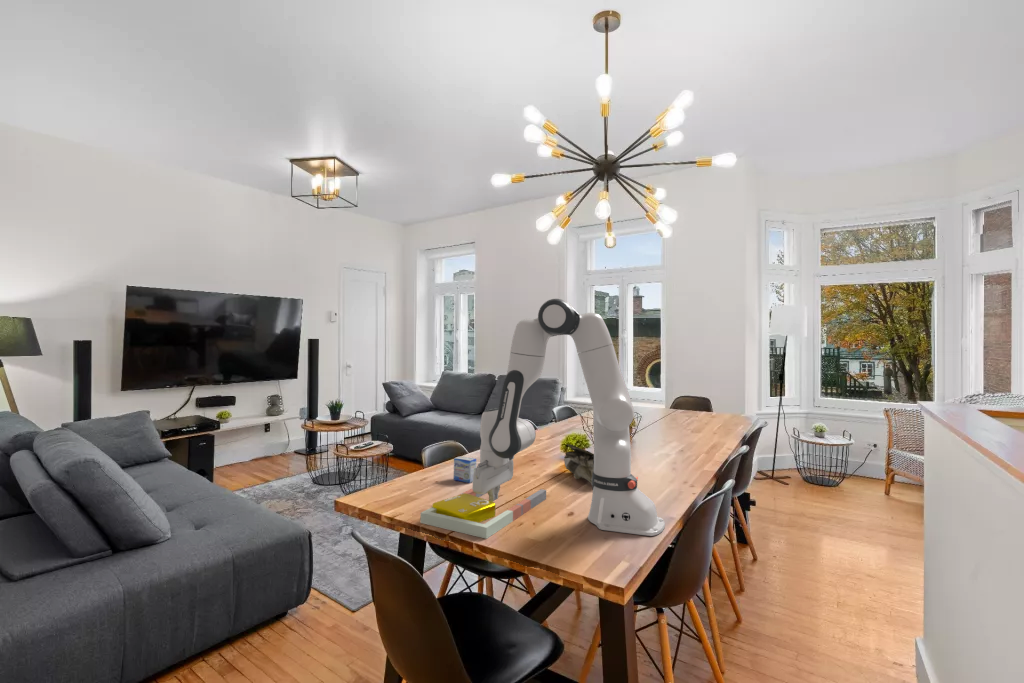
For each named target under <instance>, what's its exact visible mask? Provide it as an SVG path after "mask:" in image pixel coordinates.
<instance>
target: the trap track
mask: <svg viewBox="0 0 1024 683" xmlns="http://www.w3.org/2000/svg"><path fill="white" fill-rule="evenodd" d="M465 493H466V494H470V495H473V496H476V497H479V498H481V497H482V496H484V495H485V494H488V493H487V492H486V493H484V494H478V493H474V492H473V488H470V489H468V490H466V491H463V492H462V493H459V494H458V495H461V494H465ZM458 495H456V496H458ZM545 500H547V489H543V488H540V489H539V490H537V491H536V492H534V493H533V494H531V495H529V496H528V497H526V498H524V499H523V500H521V501H519V502H517V504H515V505H513V506H511V507H510V508H508V509H506V510H504V511H503V512H501V513H500V514H498V515H497V516H495V517H493V518H491V519H490V520H489V521H486V522H485V523H481V522H480V523H478V522H473V521H469V520H464V519H460V518H455V517H451V516H446V515H442V514H437V513H436V508H433V507H429V508H427V509H425V510H423V511H421V512H420V524H423V525H424V524H425V525H428V526H432V527H435V528H441V529H445V530H448V531H451V532H452V531H453V532H457V533H461V534H464V535H465V534H466V535H470V536H474V537H477V538H483V539H489V538H490V537H491V536H493V535H495V533H497V532H500V530H502V529H504V528H505V527H506V526H508V525H509V524H511V523H512V522H514V521H515V520H517V519H518V518H520V517H521V516H523V515H524V514H526V513H527V512H529V511H530V510H532V509H533V508H535V507H536V506H538V505H539V504H540V503H542V502H544V501H545Z"/></svg>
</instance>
